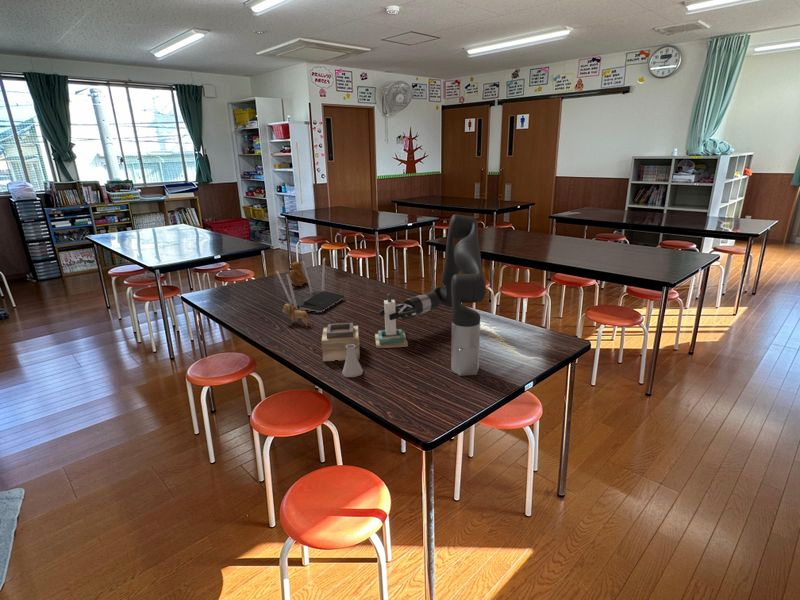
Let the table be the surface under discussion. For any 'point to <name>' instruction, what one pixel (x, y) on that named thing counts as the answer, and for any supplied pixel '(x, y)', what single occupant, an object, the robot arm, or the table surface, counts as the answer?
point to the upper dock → (339, 341)
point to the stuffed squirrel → (297, 274)
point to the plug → (389, 309)
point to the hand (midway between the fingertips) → (385, 315)
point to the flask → (351, 363)
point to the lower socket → (390, 339)
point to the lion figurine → (296, 313)
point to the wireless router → (312, 295)
